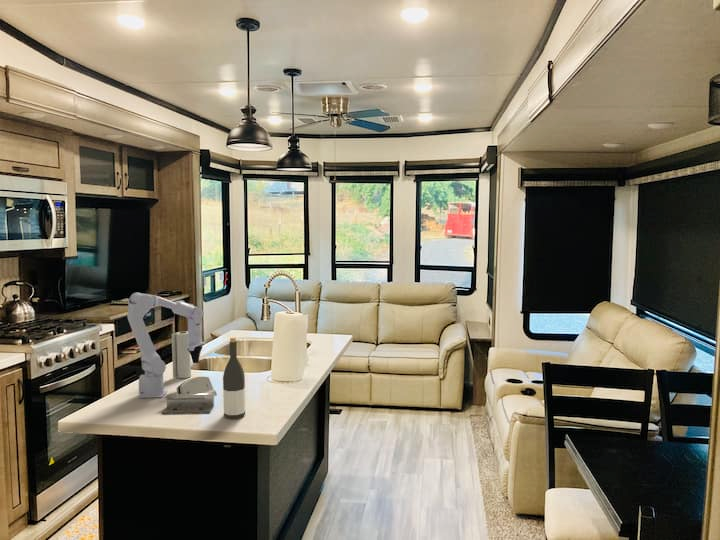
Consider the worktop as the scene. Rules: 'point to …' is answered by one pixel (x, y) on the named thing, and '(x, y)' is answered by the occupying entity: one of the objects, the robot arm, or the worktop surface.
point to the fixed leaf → (189, 403)
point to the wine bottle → (234, 385)
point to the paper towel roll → (181, 355)
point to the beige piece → (196, 386)
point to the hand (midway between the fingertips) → (195, 362)
